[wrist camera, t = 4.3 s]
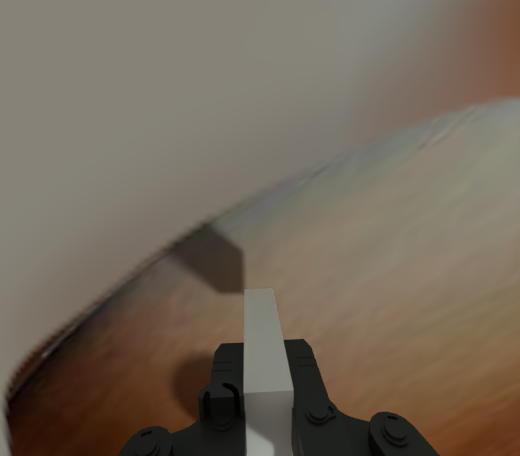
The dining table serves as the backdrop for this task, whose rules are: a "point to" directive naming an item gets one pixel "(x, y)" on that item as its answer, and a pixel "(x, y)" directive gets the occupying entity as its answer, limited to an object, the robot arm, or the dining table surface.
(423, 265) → the dining table surface
